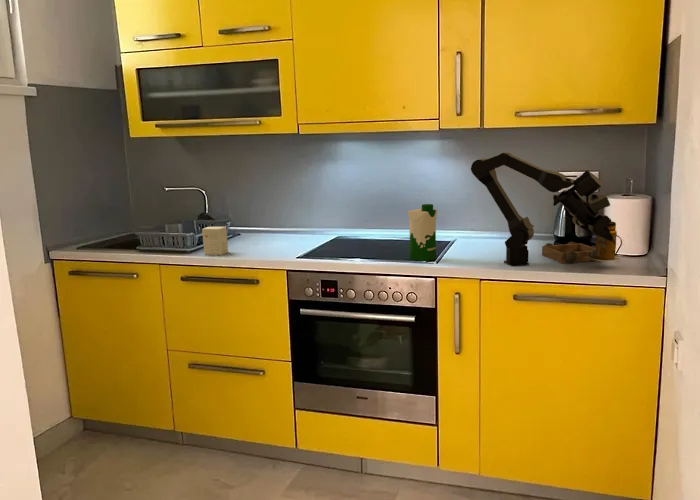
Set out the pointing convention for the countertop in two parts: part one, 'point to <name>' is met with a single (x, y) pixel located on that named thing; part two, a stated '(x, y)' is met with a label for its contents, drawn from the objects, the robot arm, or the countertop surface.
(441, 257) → the countertop surface
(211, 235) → the small box
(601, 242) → the condiment
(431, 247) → the milk carton
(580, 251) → the chassis bay
